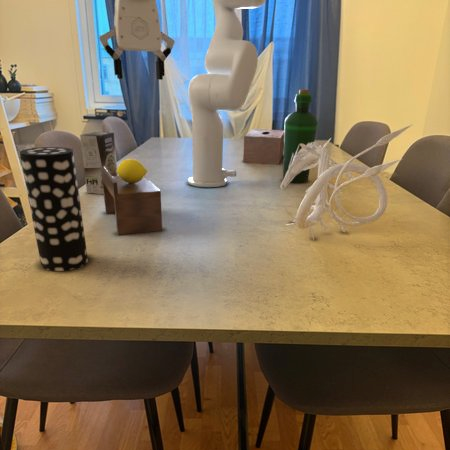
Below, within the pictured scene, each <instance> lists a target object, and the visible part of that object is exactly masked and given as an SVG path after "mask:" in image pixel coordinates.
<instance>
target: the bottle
mask: <svg viewBox="0 0 450 450" xmlns="http://www.w3.org/2000/svg"><path fill="white" fill-rule="evenodd" d="M312 100H313V97H312V94H311V93H310V89H302V88H301V89H298V93H296V94H295V98H294V103H295V111H292V112H291V113H290V114H288V115H287V116H286V117H285V119H284V128H283V130H284V152H283V162H282V163H283V164H282V180H283V179H284V177H285V174H286V172H287V171H288V168H289V164H290V161H291V158H292V160H293V158H294V155H295V153H296V151H297V148H298V146H299V148H298V151H297V153H298V152H299V151H300V149H302V147H301V146H300V145H299V144H301V143H302V144H304V145H307V144H309V143H311V142H315V143H316V136H317V129H318V124H319V122H318V120H317V117H316V116H315V115H314V114H312V113H311V112H310V111H309V110H310V105H311V104H312V102H313V101H312ZM312 144H313V143H312ZM292 154H293V157H292ZM296 155H297V154H296ZM291 163H292V161H291ZM309 165H310V164H309ZM310 170H311V168H310V169H307V170H305V171H304V170H303V171H301V172H300V173H299V174H297V175H296V176H295V177H294V178H293V180H292V181H291V182H290V183H289V184H304V183H306V182H308V181H309V176H310Z"/></svg>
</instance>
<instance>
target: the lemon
mask: <svg viewBox="0 0 450 450" xmlns="http://www.w3.org/2000/svg"><path fill="white" fill-rule="evenodd" d="M116 171H117V173H118V176H119V177H120V178H121V179H122V180H123V181H125V182H128V183H136V182H139V181H140V180H142V178H143V177H144V176H145V177H146V174H147V173H148V170H147V168H146V167H145V166H144V165H143V163H141V162H140V161H139V160H137V159H134V158H127V159H124V160H122V161H121V162H120V163H119V164H117V170H116Z"/></svg>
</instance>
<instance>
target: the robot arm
mask: <svg viewBox="0 0 450 450" xmlns="http://www.w3.org/2000/svg"><path fill="white" fill-rule="evenodd" d="M265 2H267V1H266V0H212V6H213V10H214V14H215V28H214V30H213V31H214V32H213V35H212V37H211V40H210V43H209V45H208V49H207V50H206V53H205V57H204V68H205V70H206V72H207V73H200V74H196V75H195V76H194V77H192V78H191V79H190V81H189V84H188V87H187V88H188V92H187V93H188V100H189V104H190V110H191V125H192V129H191V130H192V131H191V132H192V133H191V135H192V138H191V139H192V176H191V177H189V178H188V179H187V183H188V184H189V185H191V186H194V187H198V188H218V187H224V186H225V185H227V184H228V180H227V178H228V177H229V178H233V177H237V170H234V169H233V170H230V169H225V168H223V158H224V157H223V155H224V151H223V150H224V123H223V119H222V117H221V115H220V113H219V111H220V112H221V111H224V112H237V111H239V110H241V109H242V108H243V106H244V105H245V102H246V100H247V97H248V95H249V92H250V89H251V86H252V84H253V80H254V78H255V74H256V72H257V70H258V69H257V68H258V61H259V59H258V57H259V56H258V50H257V47H256V46H255V44H254V43H253V42H252V41H249V40H243V37H244V27H243V25H242V22H241V21H240V18H239V17H238V16H237V13H236V10H240V9H241V10H243V9H244V10H245V9H257V8H260V7H262V6H263V5H264V4H265ZM113 9H114V11H113V12H114V14H113V23H114V24H113V26H114V27H113V28H112V29H111V30H108V31H107V32H105V33H103V34H101V35H100V36H99V37H98V39H99V42H100V43H101V45H102V47H103V49H104V51H105V52H106V53H107V54H108V55H109V56H110V57H111V59H112V61H113V70H114V71H113V72H114V75H115V76H116V78H117V80H122V79H123V65H122V60H121V59H120V56H121V55H122V54H123V52H124V51H126V52H127V51H128V52H152V53H153V54H154V56H155V57H156V61H155V70H156V71H155V72H156V80H161V81H163V80H164V77H165V75H166V73H165V61H166V59H167V58H168V57H169V56H170V54H171V53H172V50H173V48H174V45H175V43H176V42H175V40H174V39H173V38H172V37H170V36H169V35H168V34H165V33H164V32H163V31H161V22H160V14H159V8H158V3H157V0H114V8H113ZM111 38H114V44H115V47H116V48H115V49H113V48H112V47H111V46H110V44H109V42H108V40H109V39H111ZM162 41H163V42H164V43H165V44H166V45H165V49H164V50H163V51H162V50H161V49H162Z"/></svg>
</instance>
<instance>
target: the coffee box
mask: <svg viewBox="0 0 450 450" xmlns="http://www.w3.org/2000/svg"><path fill="white" fill-rule="evenodd" d="M79 136H80V146H81V154H82V161H83V162H82V163H83V171H84V179H85V189H86V193H87V194H97V195H104V192H103V182H102V173H101V166H104V167H105V168H106V169H107V171H108V172H109V173H110V175H111V176H119V175H118V173H117V171H116V170H117V167H118V163H117V152H116V140H115V132H113V131H92V132H87V133H83V134H80V135H79Z"/></svg>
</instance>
